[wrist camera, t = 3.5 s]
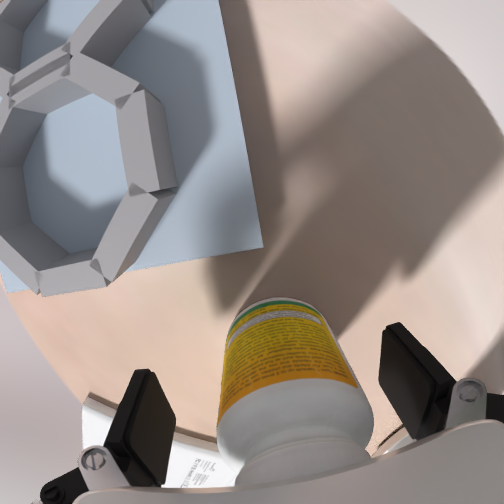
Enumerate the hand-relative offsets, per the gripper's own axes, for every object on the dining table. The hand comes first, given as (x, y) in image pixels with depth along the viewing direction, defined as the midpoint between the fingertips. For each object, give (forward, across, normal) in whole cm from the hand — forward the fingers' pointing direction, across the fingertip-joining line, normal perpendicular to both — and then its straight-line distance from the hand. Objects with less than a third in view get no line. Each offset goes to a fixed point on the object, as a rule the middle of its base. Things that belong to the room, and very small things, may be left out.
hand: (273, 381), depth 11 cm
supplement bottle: (+4, -1, +1) cm, 4 cm away
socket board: (+4, +6, -13) cm, 15 cm away
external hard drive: (+5, +10, +11) cm, 15 cm away
